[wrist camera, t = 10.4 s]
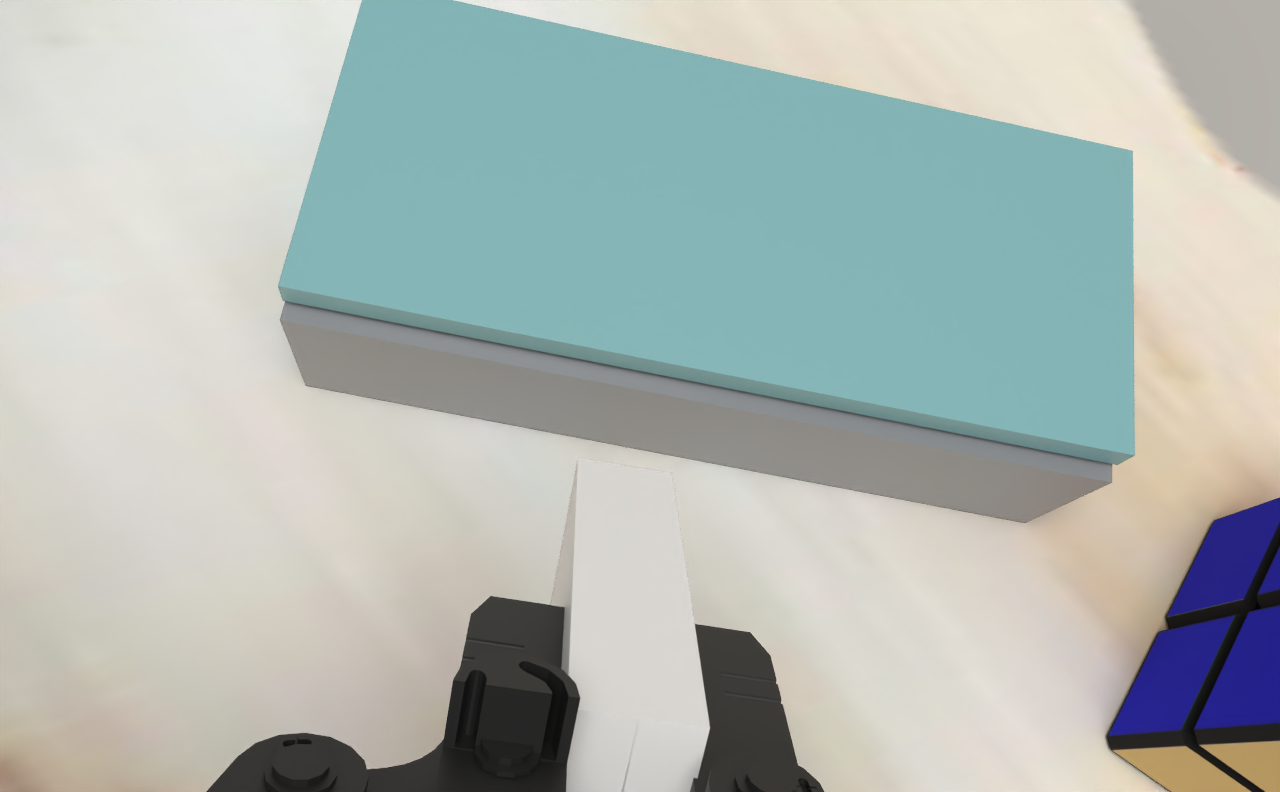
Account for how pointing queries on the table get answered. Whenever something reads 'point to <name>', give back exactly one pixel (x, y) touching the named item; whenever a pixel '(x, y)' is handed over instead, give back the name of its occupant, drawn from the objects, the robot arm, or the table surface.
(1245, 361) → the table surface
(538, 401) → the cable duct
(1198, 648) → the puzzle cube
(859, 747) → the table surface
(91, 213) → the table surface
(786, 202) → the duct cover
